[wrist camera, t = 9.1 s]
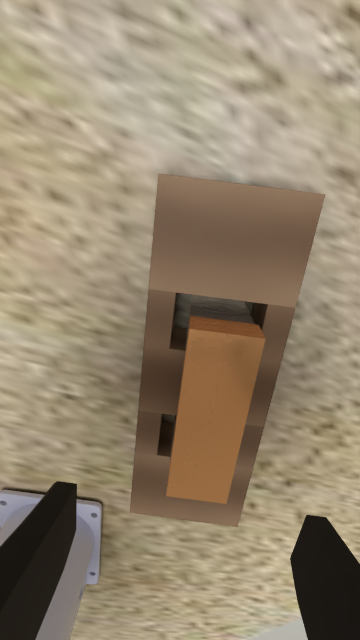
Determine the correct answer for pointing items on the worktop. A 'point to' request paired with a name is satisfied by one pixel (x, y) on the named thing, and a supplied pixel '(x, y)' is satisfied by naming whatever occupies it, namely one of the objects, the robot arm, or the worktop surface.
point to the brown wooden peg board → (221, 282)
